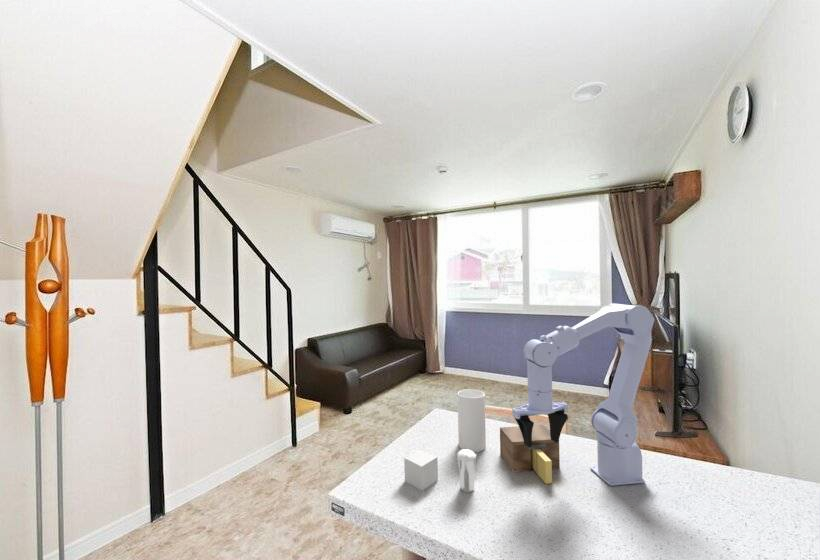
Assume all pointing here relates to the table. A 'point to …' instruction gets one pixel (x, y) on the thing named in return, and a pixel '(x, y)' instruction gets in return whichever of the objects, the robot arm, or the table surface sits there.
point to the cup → (471, 420)
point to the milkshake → (466, 469)
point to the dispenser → (520, 454)
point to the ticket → (541, 465)
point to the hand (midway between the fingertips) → (541, 443)
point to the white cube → (421, 469)
